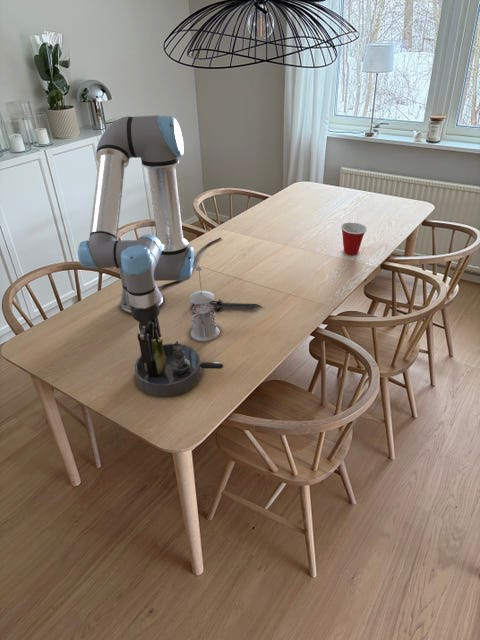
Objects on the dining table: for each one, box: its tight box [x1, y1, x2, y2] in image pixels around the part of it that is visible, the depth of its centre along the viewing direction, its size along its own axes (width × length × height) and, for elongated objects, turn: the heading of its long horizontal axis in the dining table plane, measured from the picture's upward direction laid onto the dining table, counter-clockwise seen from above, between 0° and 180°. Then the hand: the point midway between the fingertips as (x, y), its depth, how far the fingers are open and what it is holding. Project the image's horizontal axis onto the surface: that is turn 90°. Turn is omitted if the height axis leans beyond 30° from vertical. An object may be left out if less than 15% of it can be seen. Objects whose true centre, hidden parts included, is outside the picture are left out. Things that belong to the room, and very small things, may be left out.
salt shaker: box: [170, 340, 191, 379], centre depth 137 cm, size 6×6×12 cm
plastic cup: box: [340, 221, 368, 256], centre depth 200 cm, size 11×11×12 cm
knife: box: [191, 299, 263, 313], centre depth 170 cm, size 25×6×1 cm, turn 78°
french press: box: [188, 265, 220, 342], centre depth 151 cm, size 10×12×25 cm
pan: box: [134, 343, 203, 398], centre depth 140 cm, size 19×19×4 cm
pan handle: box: [200, 361, 224, 370], centre depth 138 cm, size 7×2×2 cm, turn 86°
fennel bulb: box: [144, 338, 166, 375], centre depth 137 cm, size 6×5×12 cm
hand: (155, 368), depth 140 cm, fingers open, 6 cm apart
